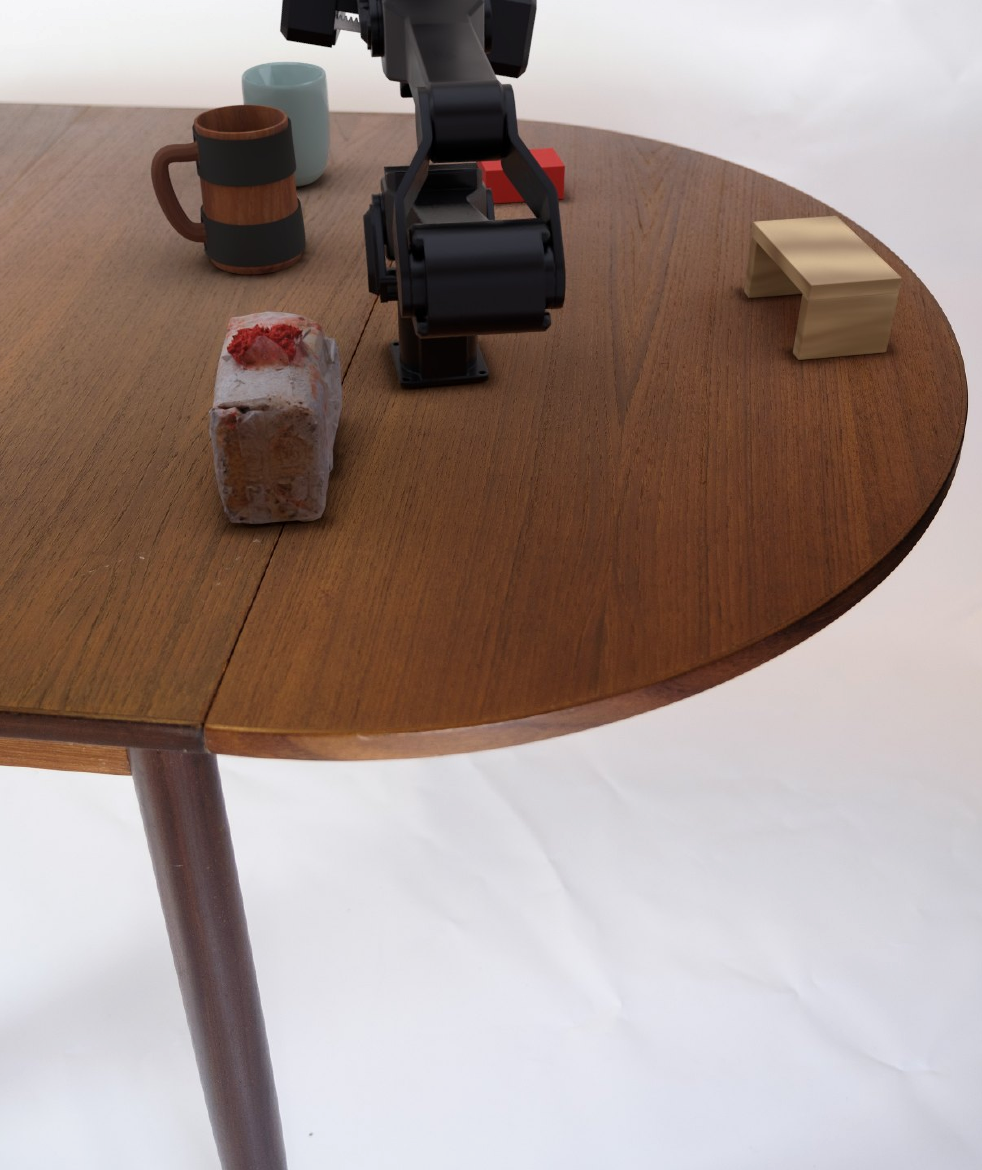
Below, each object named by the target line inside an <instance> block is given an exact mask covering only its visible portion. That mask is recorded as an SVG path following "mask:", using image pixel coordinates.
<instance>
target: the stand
mask: <svg viewBox="0 0 982 1170" xmlns="http://www.w3.org/2000/svg"><path fill="white" fill-rule="evenodd" d="M748 252H749V253H748V258H747V267H746V274H745V282H744V290H743V293H744V294H745V295H746V297H747V298H748V299H754V298H755V299H756V298H766V297H779V296H792V295H801V300H800V305H799V306H800V307H799V313H798V318H797V324H796V331H795V336H794V342H793V343H794V344H793V348H792V354H793V355H794V357H796V359H797V360H798V361H803V360H805V361H806V360H813V359H816V360H817V359H826V358H837V357H838V358H839V357H849V356H858V355H870V354H882V353H887V349H888V345H889V340H890V335H891V332H892V326H893V322H894V318H895V312H896V308H897V303H898V298H899V293H900V289H901V283H902V281H903V279H902V278H903V277H902V276H901V275H900V274H899V273H898V272H896V271H895V270H894V269H893V268H892V266H890V265H889V264H888V263H887V262H886V261H885V260H884V259H883V258H882V257H881V256H880V255H878V254H877V253H876V252H875V250H874V249H872V248H871V247H870V246H869V245H868V244H867V243H866V242H865V241H864V240H863V239H861V237H859V236H858V234H857V233H855V232H854V231H853V230H852V229H851V228H850V227H849V226H848V225H847V224H846V223H845V222H844V221H842V219H840V217H838V216H837V215H832V216H831V215H829V216H827V215H826V216H814V217H813V216H812V217H801V218H800V217H799V218H787V219H772V220H760V221H759V220H757V221H753V223H752V229H751V238H750V244H749V251H748Z"/></svg>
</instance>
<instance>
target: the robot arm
mask: <svg viewBox="0 0 982 1170" xmlns="http://www.w3.org/2000/svg"><path fill="white" fill-rule="evenodd" d="M537 7H538V0H282V1H281V14H280V24H279V25H280V26H279V32H280V33H281V35H282V36H283V37H284V39H285V40H286V41H288V42H294V43H300V44H306V45H312V46H317V47H324V48H331V49H332V48H333V46H336V44H337V42H338V38H339V36H340V33H341V30H342V31H346V32H351V33H357V34H358V33H359V35H360V39H361V40H362V41H364V43H365V44H366V49H367V51H370V57H371V58H380V62H381V68H382V72H383V74H384V76H385V78H386V79H387V80H389V81H390V82H396V83H399V94H400V98H403V99H411V98H412V100H413V104H414V116H415V117H414V120H415V134H416V136H415V137H416V146H417V148H416V149H417V150H416V152H415V154H414V155H413V157H412V160H411V161H410V164H409V165H391V166H383V174H384V176H382V178H381V179H380V193H378V192H377V193H371V203H369V205H368V208H369V209H367V210H366V212H365V213H364V214H363V215H362V221H363V234H364V235H363V236H364V245H365V247H364V248H365V256H366V257H365V258H366V272H367V289H368V293H370V294H373V295H375V296H377V297H378V296H379V301H380V304H387V303H389V302H397V303H396V306H397V326H398V327H397V329H398V340H393V341H391V342H390V343H389V350H390V354H391V358H392V361H393V365H394V369H395V373H396V376H397V380H398V383H399V386H400V387H401V388H405V389H407V388H408V389H409V388H418V387H430V386H440V385H452V384H463V383H474V382H476V383H477V382H484V381H487V380H489V379H490V372H489V371H490V370H489V369H488V366H487V364H486V361H485V358H484V356H483V354H482V351H481V349H480V346H479V344H478V336H492V335H509V334H526V333H527V334H528V333H543V332H547V331H548V330H549V328H550V327H551V325H552V315H551V312H549V311H548V310H552V311H553V310H561V309H562V308H564V304H565V300H566V289H567V288H566V287H567V285H566V284H567V281H566V279H567V276H566V260H565V250H564V241H563V231H562V220H561V212H560V211H561V210H560V201H559V199H558V193H557V190H556V188H555V185H554V184H553V183H552V181H551V180H550V178H549V177H548V176H547V174H546V173H545V172H544V170H543V169H542V167H541V166H540V165H539V163H538V162H537V160H536V159H535V158H534V156H533V155H532V153H531V152H530V151H529V148H528V146H527V145H526V144H525V142H524V141H523V139H522V138H521V136H520V135H519V125H518V116H517V107H516V99H515V92H514V91H515V90H514V88H513V85H512V84H511V83H502V82H501V81H500V80H499V79H498V77H497V76H499V77H500V76H501V77H504V78H505V77H506V78H512V79H517V80H518V79H519V78H520V77H521V76H522V75H524V74H525V73H526V71H527V69H528V66H529V60H530V59H529V58H530V53H531V48H532V47H531V46H532V41H533V34H534V28H535V23H536V15H537ZM347 14H353V15H358V17H355V18H354V19H353V16H350V17H349V19H348V15H347ZM500 160H501V167H502V169H503V172H504V173H505V175H506V176H507V178H508V179H509V180H510V182H511V183H512V185H513V186H514V187H515V189H516V190H517V192H518V193H519V194H520V196H521V197H522V198H523V200H524V201H525V202H524V203H525V204H526V205H527V207H528V208H529V210H530V211H531V213H532V214H533V215H534V217H528V218H527V217H526V218H525V217H524V218H507V219H496V215H495V214H496V213H495V204H494V203H493V195H492V191H491V189H490V188H486V186H485V184H484V182H483V179H482V169H481V168H478V164H477V163H476V162H480V161H500ZM430 162H431V163H433V164H430ZM387 261H388V262H394V263H395V266H387Z"/></svg>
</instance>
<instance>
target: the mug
mask: <svg viewBox="0 0 982 1170" xmlns="http://www.w3.org/2000/svg"><path fill="white" fill-rule="evenodd" d="M191 129H192V139H193V142H190V143H171V144H167V145H165V146H162V147H160V148H159V149H158V150H157V151H156V152H155V153H154V156H153V158H152V160H151V166H150V177H151V183H152V186H153V191H154V194H155V196H156V199H157V201H158V204H159V206H160V209H161V210H162V213H163V214H164V216H165V218H166V220H167V221H168V223H169V224H170V226H171V227H172V228H173V230H175V231H176V232H177V233H178V234H179V235H180V236H181V237H183V238H184V239H185V240H188V241H190V242H193V243H201V244H203V248H204V249H203V250H204V252H205V255H206V256H207V257H208V258H209V260H210V261H211V262H212V264H213V266H215V267H216V268H218V269H220V270H221V271H225V272H228V273H233V274H238V275H263V274H270V273H275V272H278V271H282V270H285V269H287V268H289V267H291V266H293V265H294V264H296V263H298V261H299V260H300V259H301V256H302V255H303V252H304V251H305V249H306V246H307V240H306V229H305V228H306V227H305V221H304V215H303V208H302V203H301V200H300V199H299V197H298V194H297V187H296V184H295V175H294V172H295V171H296V159H295V152H294V144H293V136H292V126H291V120H290V119H289V117H287V115H286V113H285V112H283V111H282V110H280V109H277V108H273V107H269V106H262V105H244V104H235V105H234V104H233V105H225V106H220V107H215V108H212V109H209V110H206V111H203V112H201V113H199V114H198V115H197V116H196V117H194V119H193V123H192V127H191ZM192 162H195V165H196V174H197V176H198V177H199V183H200V192H201V203H202V204H201V206H200V210H199V211H200V222H195V221H192V220H191V218H189V216H188V215H187V213H186V212H185V211H184V208H183V207H182V205H181V203H180V201H179V199H178V197H177V194H176V192H175V190H174V187H173V183H172V179H171V175H170V167H169V166H170V164H172V163H173V164H174V163H192Z"/></svg>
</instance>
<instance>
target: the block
mask: <svg viewBox="0 0 982 1170" xmlns="http://www.w3.org/2000/svg"><path fill="white" fill-rule="evenodd" d="M528 149H529V148H528ZM529 151H530V152H531V153H532V155H533V156H534V158H535V159H536V160H537V162H538V163H539V165H540V166H541V167H542V169H543V170H544V172H545V173H546V174H547V176H548V177H549V178H550V180H551V181H552V183H553V184H554V185H555V188H556V190H557V193H558V200H563V199H564V198H565V180H566V179H565V177H566V176H565V175H566V166H565V163H564V162H563V160H562V159H561V158H560V156H559V155H558V153H557V152H556V150H555V149H554V148H553V147H546V148H531V149H529ZM475 163H477V164H478V168H481V169H482V179H483V182H484V184H485V186H486V188H490V189H491V191H492V195H493V203H494V205H495V204H510V203H525V201H524V200H523V198H522V197H521V196H520V194H519V193H518V192H517V190H516V189H515V187H514V186H513V185H512V183H511V182H510V180H509V179H508V178H507V176H506V175H505V173H504V172H503V169H502V167H501V160H500V161H480V162H475Z"/></svg>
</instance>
